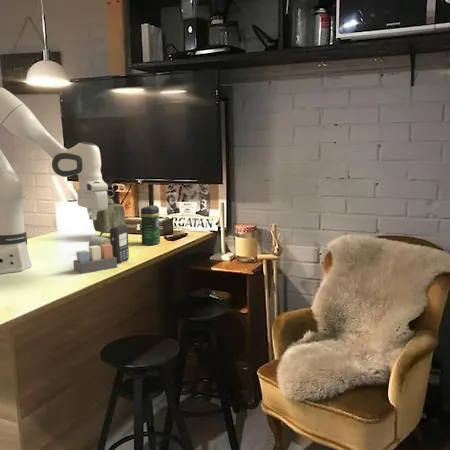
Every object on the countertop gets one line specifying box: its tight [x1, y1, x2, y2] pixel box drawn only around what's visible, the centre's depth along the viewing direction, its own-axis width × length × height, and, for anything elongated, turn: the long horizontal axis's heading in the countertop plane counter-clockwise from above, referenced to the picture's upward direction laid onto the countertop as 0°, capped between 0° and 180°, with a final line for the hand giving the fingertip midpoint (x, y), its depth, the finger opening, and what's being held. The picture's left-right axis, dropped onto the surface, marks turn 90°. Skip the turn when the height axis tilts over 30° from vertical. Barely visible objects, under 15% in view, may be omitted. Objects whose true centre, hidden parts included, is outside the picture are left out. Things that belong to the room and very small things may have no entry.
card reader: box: [109, 224, 130, 265], centre depth 230 cm, size 9×4×15 cm, turn 160°
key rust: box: [100, 244, 113, 259], centre depth 222 cm, size 4×4×6 cm
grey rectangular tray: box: [73, 257, 118, 275], centre depth 220 cm, size 15×8×4 cm, turn 127°
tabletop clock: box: [92, 189, 126, 237], centre depth 279 cm, size 14×9×25 cm, turn 133°
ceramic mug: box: [88, 235, 110, 247], centre depth 249 cm, size 11×8×8 cm
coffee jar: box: [140, 204, 161, 246], centre depth 265 cm, size 10×8×19 cm
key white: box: [88, 245, 101, 261], centre depth 219 cm, size 4×4×6 cm
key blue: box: [76, 250, 89, 263], centre depth 216 cm, size 4×4×6 cm
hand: (92, 219), depth 217 cm, fingers closed
